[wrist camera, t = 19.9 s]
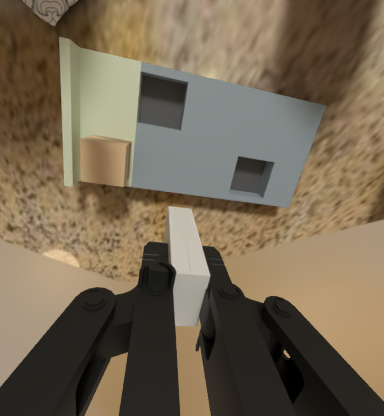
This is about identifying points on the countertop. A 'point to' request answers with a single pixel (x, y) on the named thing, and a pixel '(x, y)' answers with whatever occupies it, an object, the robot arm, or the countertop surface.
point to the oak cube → (105, 160)
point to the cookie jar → (49, 9)
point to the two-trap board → (185, 128)
